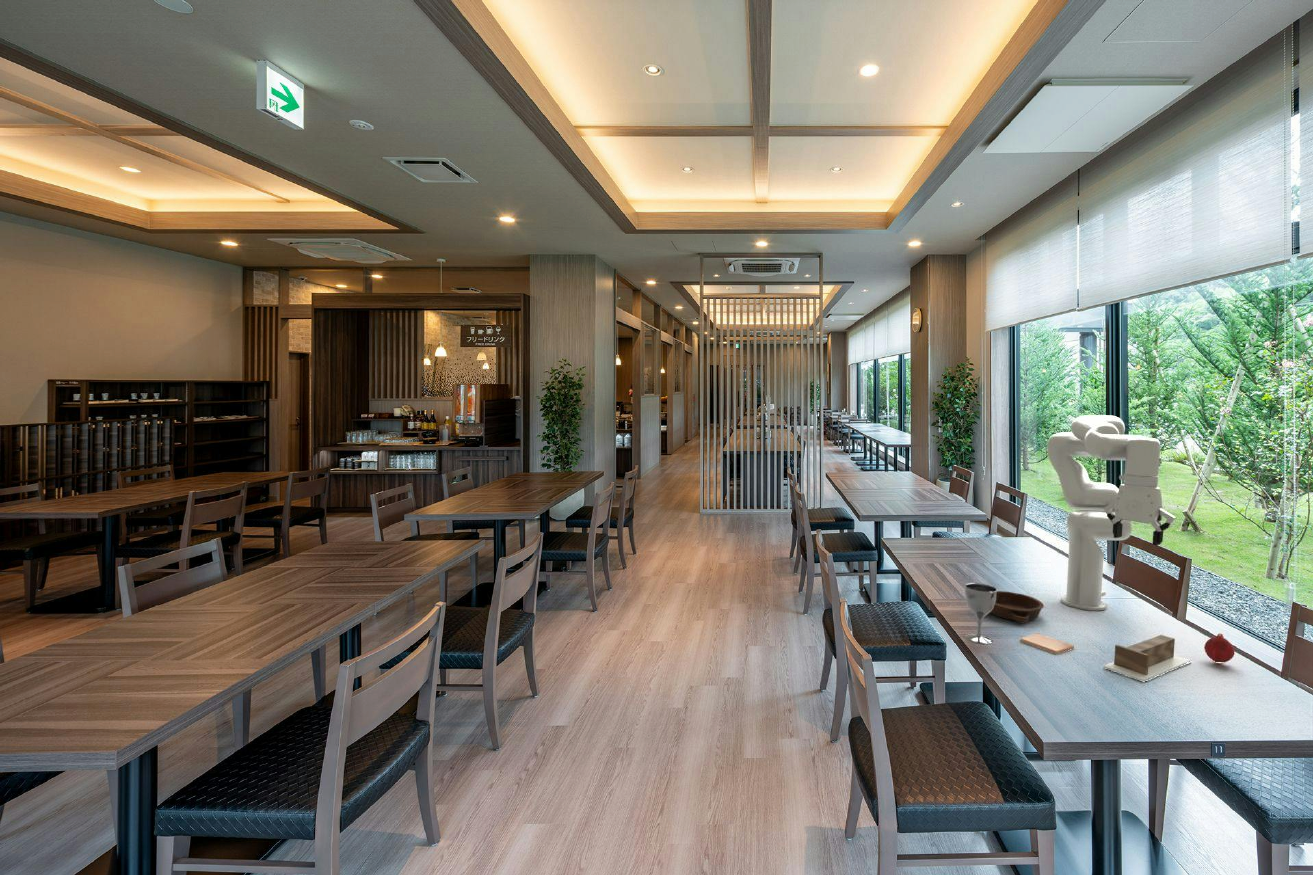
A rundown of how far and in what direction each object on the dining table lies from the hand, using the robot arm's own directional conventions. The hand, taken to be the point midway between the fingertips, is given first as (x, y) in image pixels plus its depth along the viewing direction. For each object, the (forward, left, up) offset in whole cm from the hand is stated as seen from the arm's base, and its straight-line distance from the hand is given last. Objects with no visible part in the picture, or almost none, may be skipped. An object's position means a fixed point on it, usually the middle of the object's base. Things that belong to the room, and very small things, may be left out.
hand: (1136, 540), depth 179 cm
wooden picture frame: (+24, -8, -28) cm, 37 cm away
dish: (+12, -28, -29) cm, 42 cm away
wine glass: (+40, -20, -28) cm, 53 cm away
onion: (0, +20, -28) cm, 35 cm away
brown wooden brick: (+17, +12, -27) cm, 34 cm away
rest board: (+18, +12, -28) cm, 36 cm away
